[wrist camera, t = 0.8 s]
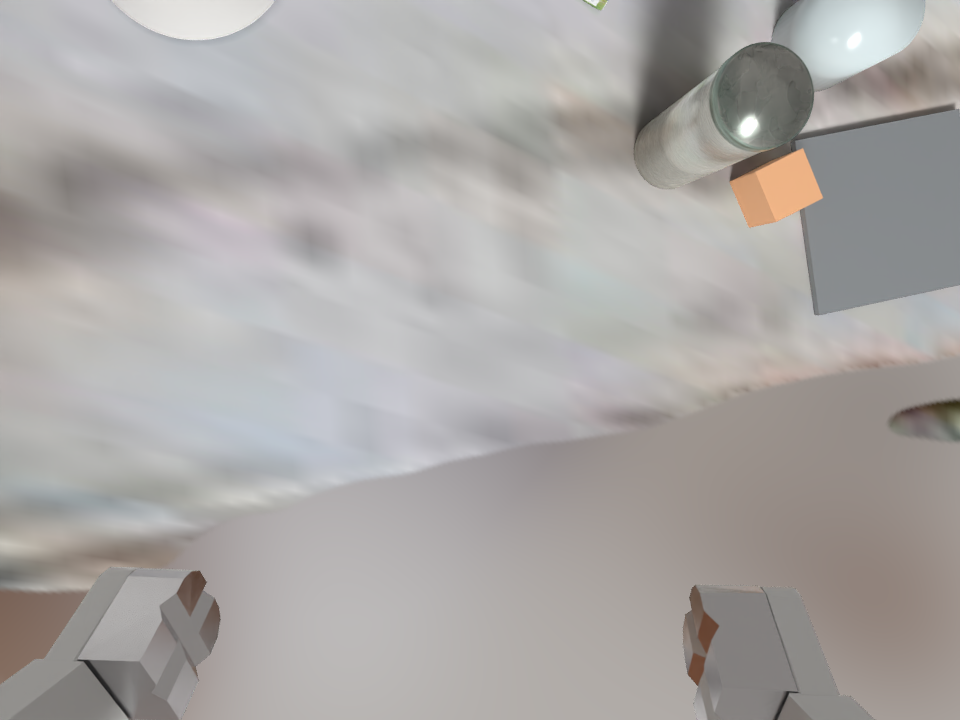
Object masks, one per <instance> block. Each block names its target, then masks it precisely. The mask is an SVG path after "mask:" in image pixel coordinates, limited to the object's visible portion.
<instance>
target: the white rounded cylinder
mask: <svg viewBox="0 0 960 720" xmlns="http://www.w3.org/2000/svg"><path fill="white" fill-rule="evenodd" d="M924 12H925V0H799V1H797V2H796V3H795V4H794V5H792V6H791V7H790V8H789V9H787V10H786V11H785V12H784V13H783V15H782V16H781V17H780V18H779V20H778V22H777V24H776V26H775V28H774V31H773V35H772V41H771V43H776V44H780V45H783V46H785V47H787V48H789V49H790V50H792V51H793V52H794V53H796V54H797V55H798V56H799V57H800V58H801V60H802V61H803V62H804V64H805V65H806V67H807V68H808V71H809V73H810V75H811V78H812V82H813V88H814V92H816V91H822V90H825V89H828V88H830V87H832V86H834V85H836V84H838V83H840V82H842V81H844V80H846V79H848V78H850V77H852V76H854V75H855V74H857V73H859V72H861V71H863V70H865V69H867V68H869V67H871V66H873V65H875V64H877V63H879V62H881V61H883V60H885V59H887V58H888V57H890V56H892V55H894V54H896V53H898V52H900V51H901V50H903V49H904V48H905V47H906V46H907V45H908V44H909V43H910V42H911V41H912V40H913V39H914V37H915V36H916V34H917V33H918V31H919V29H920V26H921V24H922V21H923V18H924Z"/></svg>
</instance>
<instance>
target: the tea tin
mask: <svg viewBox="0 0 960 720" xmlns="http://www.w3.org/2000/svg"><path fill="white" fill-rule="evenodd" d="M813 101H814V88H813V82H812V78H811V75H810V73H809V71H808V68H807V67H806V65H805V64H804V62H803V61H802V60H801V58H800V57H799V56H798V55H797V54H796V53H794V52H793V51H792V50H790V49H789V48H787V47H785V46H783V45H780V44H776V43H771V42H761V43H755V44H751V45H749V46H746V47H744V48H743V49H741V50H739V51H738V52H737V53H735V54H734V55H733V56H731V57H730V58H729V59H728V60H726V61H725V63H724V64H723V65H722V66H721V67H720V68H719V69H718V70H716V71H715V72H714V73H712V74H711V75H710V76H709V77H707V78H706V79H705V80H703V81H702V82H701V83H700V84H698V85H697V86H696V87H694V88H693V89H692V90H690V91H689V92H688V93H687V94H685V95H684V96H683V97H681V98H680V99H679V100H678V101H676V102H675V103H674V104H672V105H671V106H670V107H669V108H667V109H666V110H665V111H663V112H662V113H661V114H660V115H658V116H657V117H656V118H654V119H653V120H652V121H650V122H649V123H648V124H647V125H646V126H645V127H644V128H643V129H642V130H641V131H640V133H639V135H638V137H637V139H636V142H635V147H634V160H635V164H636V167H637V169H638V171H639V173H640V174H641V176H642V177H643V178H644V179H645V180H646V181H647V182H648V183H650V184H651V185H653V186H655V187H657V188H661V189H675V188H679V187H681V186H684V185H686V184H688V183H691V182H693V181H695V180H698V179H700V178H702V177H705V176H707V175H709V174H712V173H714V172H716V171H719V170H721V169H723V168H725V167H728V166H730V165H732V164H735V163H737V162H739V161H742V160H744V159H746V158H749V157H751V156H753V155H756V154H758V153H760V152H763V151H768V150H771V149H774V148H776V147H779V146H781V145H783V144H785V143H787V142H789V141H790V140H792V139H793V138H794V137H796V136H797V135H798V133H799V132H800V131H801V130H802V129H803V127H804V126H805V124H806V123H807V121H808V119H809V116H810V114H811V111H812V107H813Z"/></svg>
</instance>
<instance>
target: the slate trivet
mask: <svg viewBox="0 0 960 720" xmlns="http://www.w3.org/2000/svg"><path fill="white" fill-rule="evenodd" d="M791 148H792V152H794V151H797V150H799V149H802V148H803V149H804V152H805V154H806V157H807V159H808V162H809V164H810V167H811V169H812V172H813V174H814V177H815V179H816V181H817V184H818V186H819V189H820V191H821V194H822V196H823V198H822V199H820V200H818V201H816V202H815V203H813V204H811V205H809V206H807V207H805V208H803V209H801V210H800V213H801V220H802V227H803V234H804V241H805V248H806V256H807V263H808V270H809V277H810V284H811V291H812V298H813V306H814V313H815V315H822V314H827V313H832V312H836V311H841V310H846V309H850V308H855V307H860V306H864V305H869V304H874V303H878V302H883V301H888V300H892V299H897V298H902V297H906V296H911V295H916V294H920V293H925V292H930V291H934V290H939V289H943V288H948V287H953V286H957V285H960V111H959V109H956V110H950V111H945V112H940V113H935V114H930V115H925V116H920V117H914V118H909V119H904V120H899V121H894V122H889V123H883V124H878V125H873V126H868V127H863V128H858V129H852V130H847V131H842V132H837V133H832V134H827V135H821V136H816V137H811V138H806V139H801V140H796V141H793V142H791Z"/></svg>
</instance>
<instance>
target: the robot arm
mask: <svg viewBox="0 0 960 720" xmlns="http://www.w3.org/2000/svg"><path fill="white" fill-rule="evenodd" d="M111 1H112V2H113V3H114V4H115V5H116V6H117V7H118V8H119V9H120V10H121V11H123V12H124V13H125V14H126V15H127V16H129V17H130V18H131V19H133V20H134V21H136V22H137V23H139V24H141V25H142V26H144V27H146V28H148V29H150V30H152V31H154V32H157V33H160V34H162V35H166V36H169V37H173V38H178V39H185V40H208V39H215V38H220V37H224V36H227V35H230V34H233V33H235V32H237V31H239V30H242V29H243V28H245V27H247V26H249V25H250V24H252V23H253V22H254V21H256V20H257V19H258V18H259V17H261V16H262V15H263V14H264V13H265V12H266V11H267V10H268V9H269V8H270V6H271V5H272V4H273V3H274V1H275V0H111ZM206 583H207V582H206V580H205V578H204V577H203V575H202V574H201V572H200V571H197V570H172V569H147V568H130V567H110V568H108V569H107V570H106V571H105V572H103V573H102V574H101V575H100V576H99V577H98V578H97V580H96V582H95V583H94V585H93V586H92V588H91V589H90V591H89V592H88V594H87V595H86V597H85V598H84V600H83V601H82V603H81V604H80V606H79V607H78V609H77V610H76V612H75V613H74V615H73V616H72V618H71V619H70V621H69V622H68V624H67V625H66V627H65V628H64V630H63V631H62V633H61V634H60V636H59V637H58V639H57V641H56V642H55V643H54V645H53V647H52V648H51V649H50V651H49V653H48V654H47V655H46V657H45V658H44V659H35V660H33V661H32V662H31V663H29V664H28V665H27V666H25V667H24V668H22V669H21V670H20V671H18V672H17V673H16V674H14V675H13V676H12V677H10V678H9V679H7V680H6V681H5V682H3V683H2V684H1V685H0V720H182V717H183V715H184V713H185V711H186V708H187V706H188V704H189V701H190V699H191V697H192V695H193V693H194V690H195V688H196V686H197V683H198V681H199V679H198V674H197V670H196V666H197V665H198V664H200V663H201V662H202V661H203V660H204V659H205V658H207V657H208V656H209V655H210V654H211V652H212V649H213V647H214V644H215V642H216V640H217V637H218V631H219V625H220V620H221V619H220V611H219V606H218V604H217V602H216V600H215V598H214V597H212V596H211V595H209V594H207V593H206V592H205V591H203V589H204V587H205V585H206ZM689 599H690V604H691V609H692V610H691V611H690V612H688V613H687V614H685V619H684V625H683V648H684V656H685V663H686V668H687V674H688V676H689V677H691V679H692V680H693V681H694V682H695V683H696V685H697V686H698V688H697V692H696V696H695V700H694V703H693V704H694V709H695V714H696V719H697V720H875V719H874V718H873V717H872V716H871V715H870V714H869V713H868V712H867V711H866V710H865V709H864V708H862V706H860V705H859V704H858V703H857V702H856V701H855V700H854V699H853V698H852V697H851V696H846V695H840V694H839V692H838V689H837V686H836V684H835V682H834V679H833V676H832V674H831V671H830V669H829V666H828V664H827V661H826V658H825V656H824V653H823V651H822V648H821V646H820V643H819V640H818V638H817V636H816V633H815V630H814V628H813V625H812V623H811V620H810V618H809V615H808V612H807V610H806V607H805V605H804V603H803V600H802V597H801V595H800V594H799V593H798V591H797V590H796V589H795V588H792V587H759V586H749V585H748V586H747V585H694V586H693V587H692V589H691V593H690V597H689Z"/></svg>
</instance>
